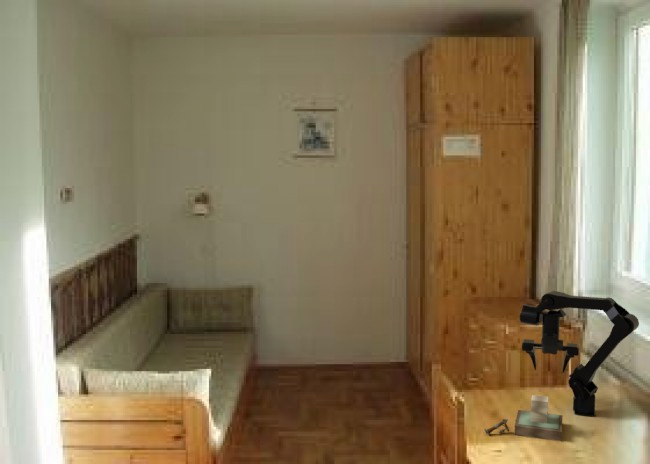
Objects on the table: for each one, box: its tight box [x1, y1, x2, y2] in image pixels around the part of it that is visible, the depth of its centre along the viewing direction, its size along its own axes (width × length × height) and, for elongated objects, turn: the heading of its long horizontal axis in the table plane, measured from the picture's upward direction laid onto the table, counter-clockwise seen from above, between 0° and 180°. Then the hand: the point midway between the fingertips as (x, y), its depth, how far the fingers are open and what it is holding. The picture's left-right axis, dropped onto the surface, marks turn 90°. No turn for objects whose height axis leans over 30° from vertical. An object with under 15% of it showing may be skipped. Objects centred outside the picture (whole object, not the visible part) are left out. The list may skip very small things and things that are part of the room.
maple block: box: [530, 394, 549, 423], centre depth 219 cm, size 5×5×7 cm
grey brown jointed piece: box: [484, 418, 510, 436], centre depth 216 cm, size 2×8×4 cm, turn 105°
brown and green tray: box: [513, 409, 563, 442], centre depth 219 cm, size 14×14×3 cm
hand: (549, 371), depth 240 cm, fingers open, 9 cm apart
